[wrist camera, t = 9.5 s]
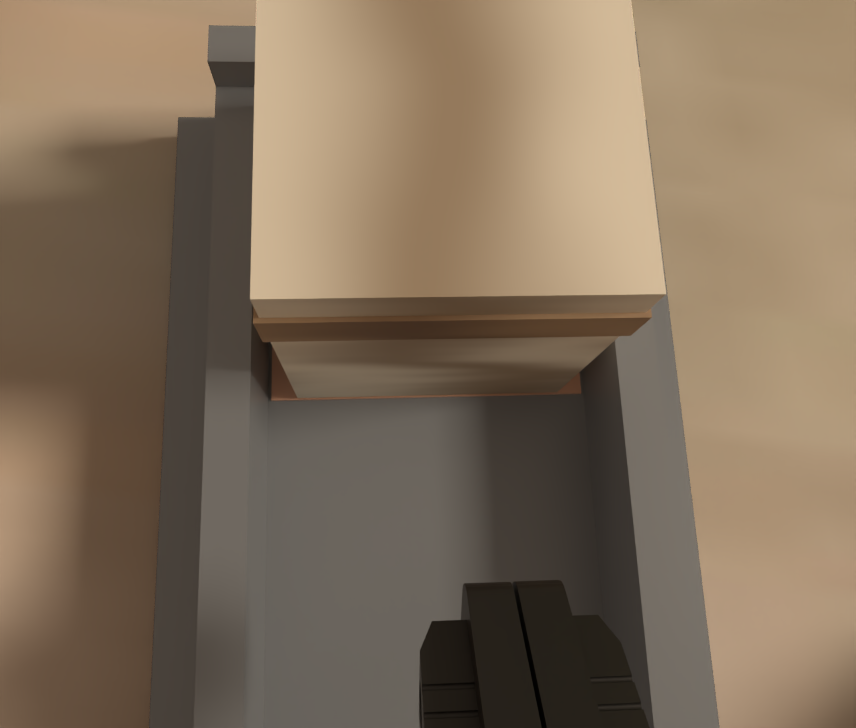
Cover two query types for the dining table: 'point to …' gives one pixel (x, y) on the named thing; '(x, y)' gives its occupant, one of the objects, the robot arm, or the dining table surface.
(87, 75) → the dining table surface
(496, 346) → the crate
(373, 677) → the bay
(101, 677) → the dining table surface
